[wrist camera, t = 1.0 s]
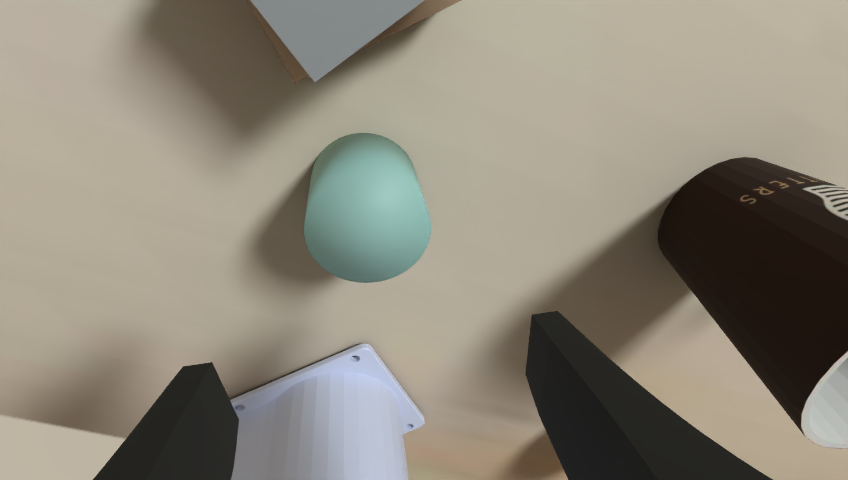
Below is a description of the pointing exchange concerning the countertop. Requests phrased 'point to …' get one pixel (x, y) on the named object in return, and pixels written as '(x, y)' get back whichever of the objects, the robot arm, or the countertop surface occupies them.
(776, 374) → the coffee mug
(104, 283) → the countertop surface
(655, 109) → the countertop surface
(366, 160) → the teal cylinder
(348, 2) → the grey square slab
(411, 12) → the walnut block
